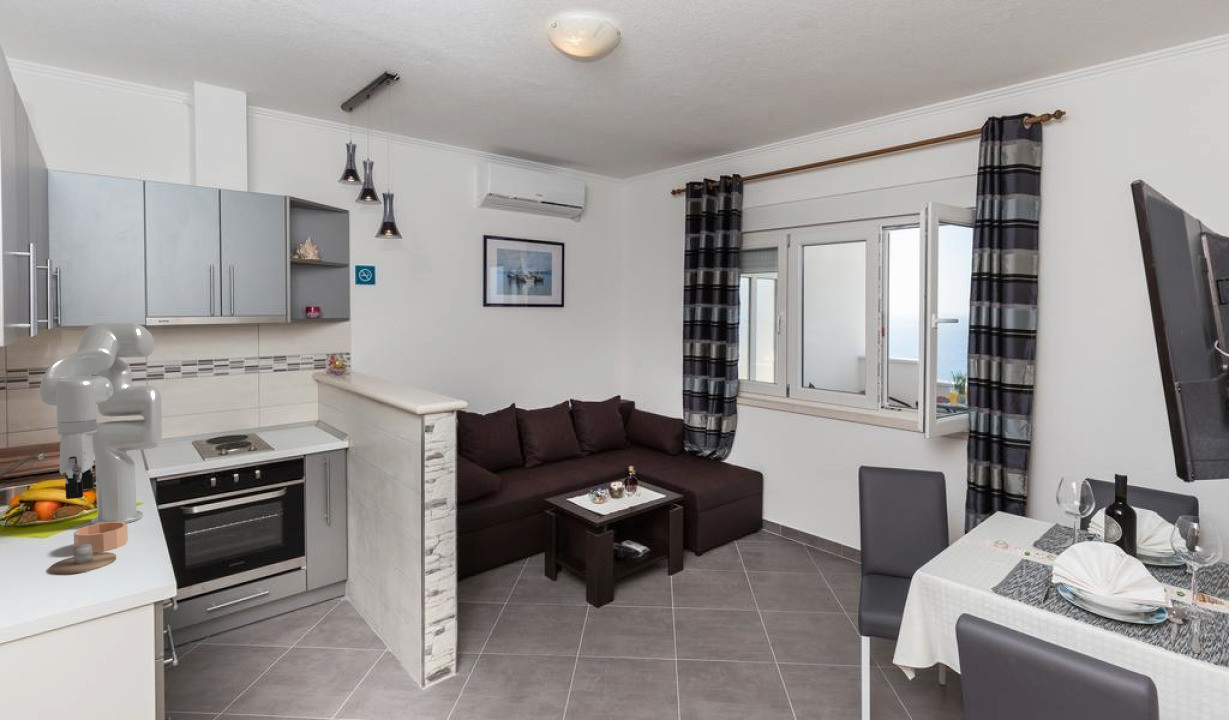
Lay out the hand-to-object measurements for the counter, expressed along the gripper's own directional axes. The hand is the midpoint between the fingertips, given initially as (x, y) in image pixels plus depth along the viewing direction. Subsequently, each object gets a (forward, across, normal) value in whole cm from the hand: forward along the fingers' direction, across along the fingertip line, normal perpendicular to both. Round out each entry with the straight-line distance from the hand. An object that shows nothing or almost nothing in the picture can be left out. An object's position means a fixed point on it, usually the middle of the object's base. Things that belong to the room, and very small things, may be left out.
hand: (80, 493), depth 155 cm
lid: (+19, -1, 0) cm, 19 cm away
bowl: (+19, -15, +1) cm, 24 cm away
